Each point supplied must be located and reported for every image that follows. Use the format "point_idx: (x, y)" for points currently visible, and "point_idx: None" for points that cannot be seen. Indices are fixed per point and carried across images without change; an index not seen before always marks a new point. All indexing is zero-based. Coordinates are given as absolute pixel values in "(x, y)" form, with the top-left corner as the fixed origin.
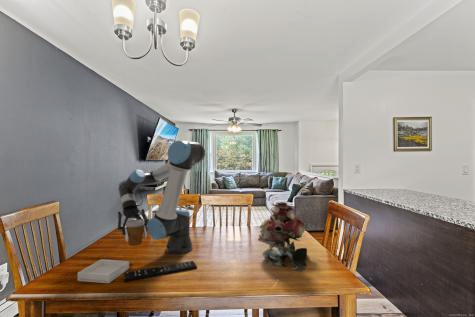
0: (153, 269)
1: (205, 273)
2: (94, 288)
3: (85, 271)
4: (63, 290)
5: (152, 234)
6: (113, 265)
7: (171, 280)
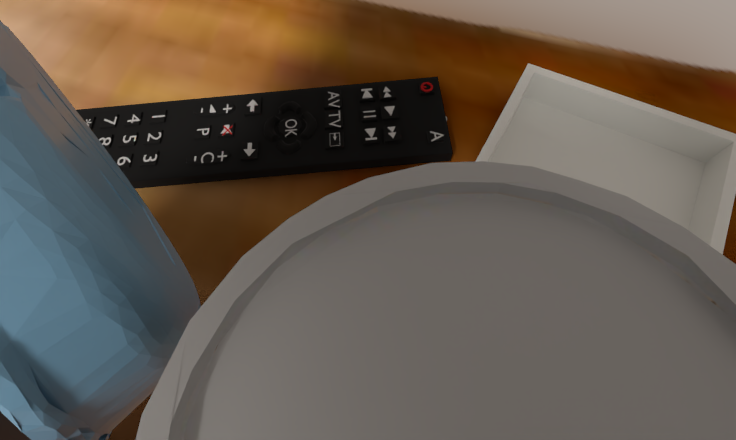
0: (290, 142)
1: (69, 63)
2: (566, 70)
3: (713, 184)
4: (715, 90)
5: (165, 241)
6: None
7: (231, 47)
